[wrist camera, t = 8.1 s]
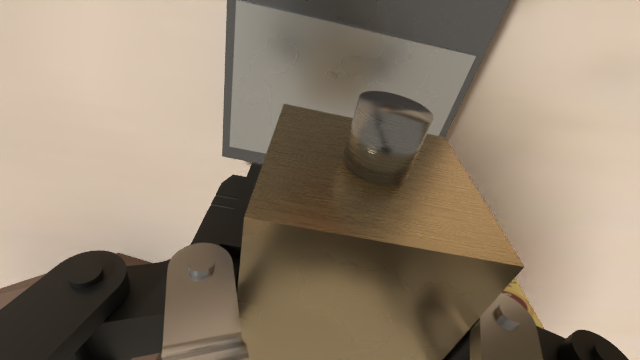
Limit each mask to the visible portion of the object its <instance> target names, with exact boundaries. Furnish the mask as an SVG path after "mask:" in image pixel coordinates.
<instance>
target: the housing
mask: <svg viewBox="0 0 640 360" xmlns="http://www.w3.org/2000/svg"><path fill="white" fill-rule="evenodd" d="M433 118H434V117H433V114H432V113H431V112H430V111H429V110H428V109H427V108H426V107H424V106H423V105H421V104H419V103H418V102H416V101H413V100H411V99H409V98H406V97H403V96H400V95H397V94H393V93H389V92H383V91H366V92H363V93H361V94H360V95H359V99H358V102H357V105H356V109H355V112H354V116H353V118H350V117H345V116H341V115H336V114H331V113H326V112H322V111H317V110H312V109H307V108H303V107H298V106H293V105H288V104H283V107H282V110H281V113H280V116H279V119H278V122H277V124H276V127H275V130H274V133H273V136H272V139H271V142H270V145H269V147H268V150H267V153H266V156H265V159H264V162H263V165H262V167H261V170H260V173H259V176H258V179H257V182H256V185H255V188H254V190H253V193H252V196H251V199H250V202H249V205H248V208H247V210H246V213H245V216H244V224H243V235H242V246H241V257H240V268H239V278H238V289H237V301H238V309H239V317H240V325H241V333H242V338H243V342H244V343H246V346H247V349H248V354H249V360H443V359H444V358H445V356H446V355H447V354H448V353H449V352H450V351H451V350H452V348H453V347H454V346H455V345H456V344H457V343H458V342H459V340H460V339H461V338H462V337H463V336H464V335H465V334H466V332H467V331H468V330H469V329H470V328H471V327H472V326H473V325H474V323H475V322H476V321H477V320H478V319H479V318H480V317H481V315H482V314H483V313H484V312H485V311H486V310H487V309H488V307H489V306H490V305H491V304H492V303H493V302H494V301H495V299H496V298H497V297H498V296H499V295H500V294H501V293H502V291H503V290H504V289H505V288H506V287H507V286H508V285H509V284H510V282H511V281H512V280H513V279H514V278H515V277H516V276H517V274H518V273H519V272H520V271H521V270H522V269H523V268H524V266H523V264H522V263H521V261H520V259H519V258H518V256H517V254H516V253H515V251H514V250H513V248H512V246H511V245H510V243H509V241H508V240H507V238H506V236H505V235H504V233H503V232H502V230H501V228H500V227H499V225H498V223H497V222H496V220H495V219H494V217H493V215H492V214H491V212H490V210H489V209H488V207H487V206H486V204H485V202H484V201H483V199H482V197H481V196H480V194H479V192H478V191H477V189H476V188H475V186H474V184H473V183H472V181H471V179H470V178H469V176H468V175H467V173H466V171H465V170H464V168H463V166H462V165H461V163H460V162H459V160H458V158H457V157H456V155H455V153H454V152H453V150H452V149H451V147H450V145H449V144H448V142H447V140H446V139H445V137H440V136H436V135H431V134H427V132H428V130H429V128H430V126H431V123H432V121H433Z"/></svg>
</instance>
